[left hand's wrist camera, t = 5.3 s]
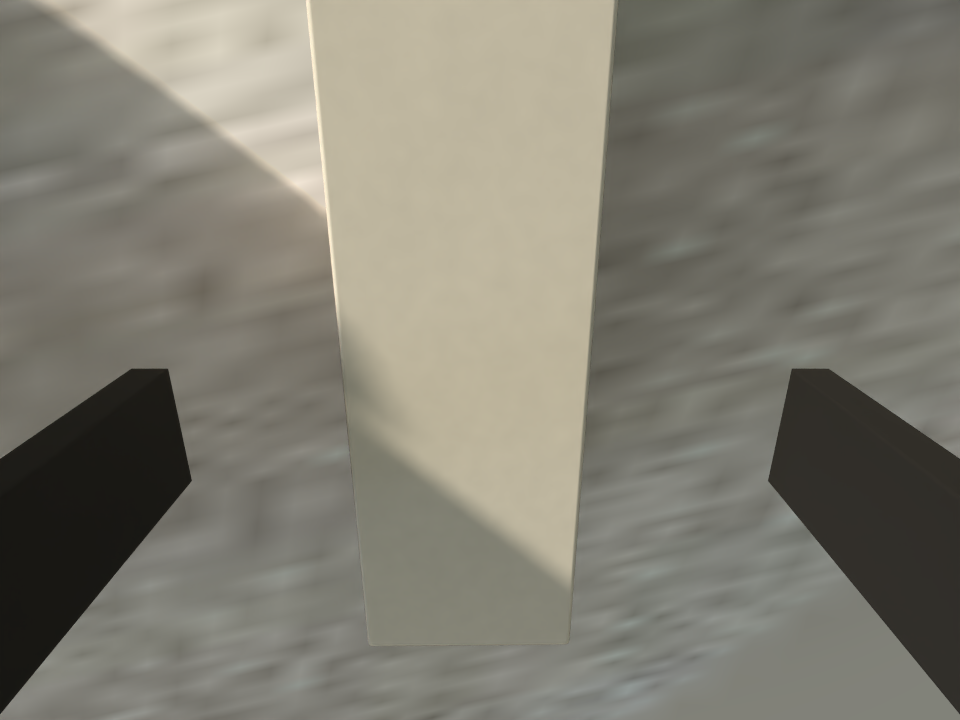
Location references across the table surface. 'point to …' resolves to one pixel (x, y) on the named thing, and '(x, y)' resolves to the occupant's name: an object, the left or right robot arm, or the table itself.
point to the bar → (465, 299)
